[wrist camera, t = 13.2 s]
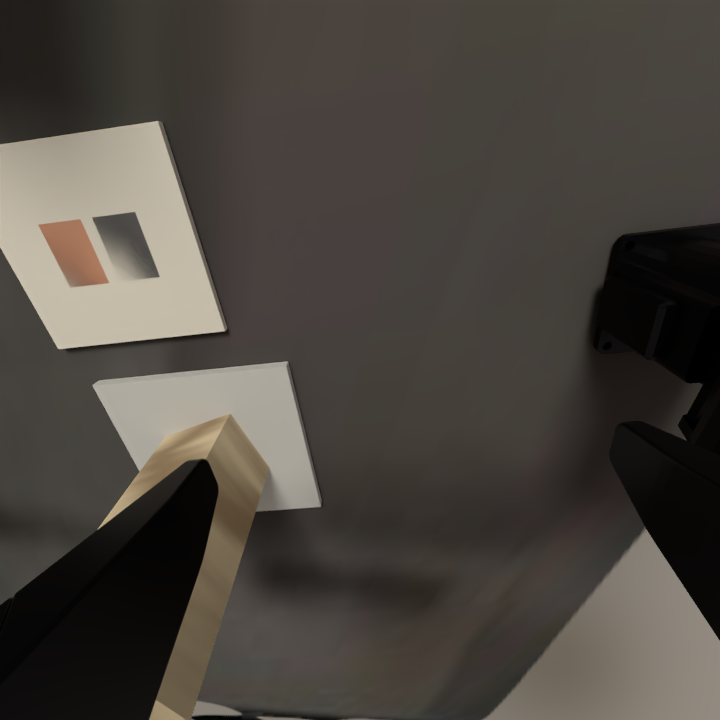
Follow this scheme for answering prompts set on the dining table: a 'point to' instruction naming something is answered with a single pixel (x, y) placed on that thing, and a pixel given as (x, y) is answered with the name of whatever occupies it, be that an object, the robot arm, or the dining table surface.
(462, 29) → the dining table surface
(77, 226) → the tile
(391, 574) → the dining table surface
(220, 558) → the maple block
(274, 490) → the pad
